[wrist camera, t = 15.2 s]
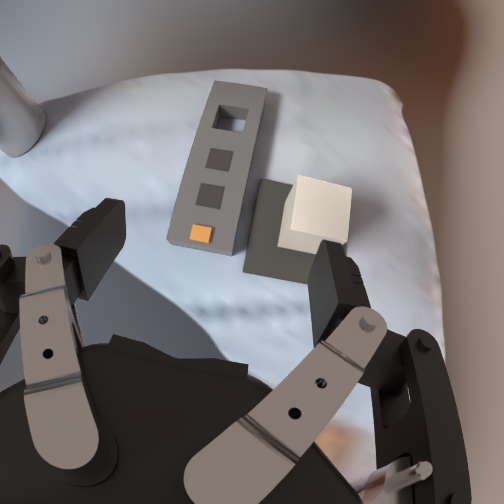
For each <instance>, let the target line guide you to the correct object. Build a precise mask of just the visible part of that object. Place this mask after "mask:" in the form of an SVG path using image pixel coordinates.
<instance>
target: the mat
mask: <svg viewBox="0 0 504 504" xmlns="http://www.w3.org/2000/svg"><path fill="white" fill-rule="evenodd" d="M292 187H293V186H292V185H288V184H283V183H278V182H273V181H269V180H264V179H261V180H260V185H259V190H258V195H257V200H256V205H255V211H254V216H253V221H252V226H251V231H250V236H249V241H248V247H247V252H246V257H245V262H244V267H243V272H245V273H250V274H255V275H260V276H265V277H271V278H276V279H281V280H287V281H292V282H298V283H303V284H308V276H309V272H310V269H311V266H312V264H313V261H314V258H315V256H316V254H312V253H307V252H302V251H297V250H292V249H287V248H282V247H278V241H279V235H280V229H281V223H282V217H283V211H284V205H285V201H286V199H287V197H288V195H289V193H290V191H291V189H292ZM342 247H343V250H344V249H345V243H344V244H343V245H342Z"/></svg>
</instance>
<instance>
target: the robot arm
mask: <svg viewBox="0 0 504 504" xmlns="http://www.w3.org/2000/svg"><path fill="white" fill-rule="evenodd" d="M45 123H46V115H45V113H44V111H43V110H42V109H41V108H40V107H39V105H38V104H37V103H36V102H35V100H34V99H33V98H32V97H31V95H30V94H29V93H28V92H27V90H26V89H25V88H24V87H23V85H22V84H21V83H20V82H19V81H18V80H17V78H16V77H15V75H14V74H13V73H12V72H11V70H10V69H9V68H8V66H7V65H6V64H5V62H4V61H3V60H2V58H1V57H0V149H1V150H2V151H3V152H4V153H6V154H7V155H8V156H10V157H18V156H20V155H22V154H24V153H25V152H27V151H28V150H29V149H30V148H31V147H32V146H33V145H34V144H35V143H36V142H37V140H38V139H39V137H40V136H41V134H42V132H43V130H44V127H45ZM125 239H126V220H125V203H124V201H122V200H117V199H111V198H105V199H104V200H103V201H102V202H101V203H100V204H99V205H98V206H97V207H96V208H92V209H90V210H88V211H86V212H84V213H83V214H82V215H81V216H80V217H79V218H78V219H77V220H76V221H75V222H74V223H73V224H72V225H71V227H69V228H68V229H67V230H66V231H65V232H64V233H63V234H62V235H61V236H60V237H59V238H58V239H57V240H56V242H55V243H54V244H43V245H40V246H38V247H35V248H34V249H32V250H31V251H30V252H29V253H28V255H27V257H13V256H12V253H11V250H10V248H9V247H8V246H7V245H0V364H1V362H2V360H3V358H4V356H5V354H6V353H7V350H8V349H9V347H10V345H11V343H12V341H13V339H14V338H15V336H16V334H17V332H18V330H19V329H20V332H21V347H22V358H23V367H24V375H25V379H23V380H22V381H20V382H18V383H16V384H14V385H12V386H11V387H9V388H7V389H5V390H3V391H2V392H0V504H471V487H470V478H469V470H468V463H467V456H466V451H465V445H464V439H463V434H462V429H461V424H460V420H459V416H458V411H457V407H456V403H455V399H454V395H453V391H452V387H451V384H450V380H449V376H448V373H447V370H446V366H445V363H444V360H443V357H442V353H441V350H440V347H439V345H438V343H437V341H436V340H435V338H434V337H433V336H432V335H431V334H429V333H428V332H426V331H424V330H421V329H414V330H412V331H411V332H410V333H409V334H408V335H407V337H405V336H402V335H400V334H397V333H395V332H392V331H390V330H388V329H387V324H386V322H385V320H384V318H383V317H382V316H381V315H380V314H379V313H378V312H376V311H375V310H373V309H371V306H370V303H369V299H368V296H367V293H366V290H365V287H364V285H363V280H362V278H361V274H360V271H359V268H358V266H357V265H356V263H355V262H354V261H353V260H352V259H351V258H350V257H346V256H345V253H344V250H343V247H342V244H341V243H338V242H334V241H329V240H324V239H323V240H322V241H321V243H320V245H319V248H318V250H317V253H316V256H315V258H314V261H313V264H312V266H311V269H310V272H309V276H308V291H309V301H310V311H311V321H312V332H313V344H314V349H313V350H312V351H311V352H310V353H309V354H308V355H307V356H306V357H305V358H304V360H303V361H302V362H301V363H300V364H299V365H298V366H297V367H296V368H295V369H294V370H293V371H292V372H291V373H290V374H289V375H288V376H287V377H286V378H285V379H284V380H283V381H282V382H281V383H280V384H279V385H278V386H277V387H276V388H275V389H274V390H273V389H271V388H270V387H269V386H268V385H266V384H265V383H263V382H262V381H260V380H258V379H257V378H255V377H253V376H250V375H248V364H243V363H237V362H231V361H225V360H220V359H215V358H213V359H212V358H207V359H179V358H174V357H172V356H170V355H168V354H166V353H163V352H161V351H159V350H157V349H155V348H153V347H151V346H150V345H148V344H146V343H144V342H140V341H136V340H132V339H129V338H125V337H121V336H118V335H115V334H113V336H112V338H111V340H110V343H103V344H102V343H101V344H93V345H89V346H85V344H84V341H83V337H82V333H81V329H80V325H79V320H78V316H77V311H76V306H75V301H76V299H77V298H80V299H84V300H87V301H88V300H89V299H90V297H91V295H92V293H93V292H94V290H95V289H96V287H97V286H98V284H99V283H100V281H101V279H102V278H103V276H104V275H105V273H106V272H107V270H108V269H109V267H110V266H111V264H112V263H113V261H114V260H115V258H116V257H117V255H118V254H119V252H120V251H121V249H122V248H123V246H124V243H125ZM357 383H360V384H363V385H365V386H368V387H370V389H371V398H372V408H373V418H374V431H375V445H376V465H377V470H376V471H374V472H373V473H372V474H371V475H370V477H369V478H368V480H367V483H366V489H365V491H364V495H363V497H362V499H361V498H360V496H359V495H358V493H357V492H356V491H355V490H354V488H353V487H352V486H351V485H350V484H349V483H348V481H347V480H346V479H345V478H344V477H343V476H342V474H341V473H340V472H339V471H338V470H337V468H336V467H335V466H334V465H333V464H332V462H331V461H330V460H329V459H328V457H327V456H326V455H325V454H324V453H323V451H322V450H321V449H320V448H319V446H318V445H317V444H316V443H315V441H314V440H315V439H316V438H317V437H318V435H319V434H320V433H321V432H322V430H323V429H324V428H325V427H326V425H327V424H328V423H329V421H330V420H331V419H332V417H333V416H334V415H335V413H336V412H337V411H338V409H339V408H340V407H341V405H342V404H343V402H344V401H345V400H346V398H347V397H348V395H349V394H350V393H351V391H352V390H353V388H354V387H355V385H356V384H357ZM408 389H409V394H408ZM409 395H410V400H409Z"/></svg>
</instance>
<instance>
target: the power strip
mask: <svg viewBox="0 0 504 504" xmlns="http://www.w3.org/2000/svg"><path fill="white" fill-rule="evenodd" d="M266 92H267V88H261V87H256V86H250V85H243V84H237V83H230V82H222V81H214V84H213V86H212V89H211V92H210V95H209V97H208V100H207V103H206V106H205V109H204V112H203V115H202V117H201V120H200V123H199V126H198V129H197V132H196V135H195V139H194V142H193V145H192V148H191V151H190V154H189V158H188V161H187V164H186V168H185V171H184V174H183V178H182V181H181V185H180V188H179V192H178V195H177V199H176V203H175V207H174V210H173V214H172V218H171V222H170V226H169V230H168V234H167V238H166V239H167V240H168V242H169V243H170V244H172V245H177V246H182V247H187V248H193V249H198V250H203V251H208V252H213V253H218V254H223V255H228V256H232V253H233V248H234V243H235V238H236V233H237V228H238V223H239V218H240V213H241V209H242V204H243V199H244V194H245V190H246V185H247V180H248V175H249V171H250V166H251V162H252V157H253V152H254V148H255V143H256V139H257V134H258V130H259V125H260V121H261V116H262V112H263V107H264V103H265V98H266ZM219 116H223V117H229V118H236V119H242V120H246V123H245V127H244V131H243V133H240V132H234V131H228V130H221V129H216V126H217V123H218V119H219Z"/></svg>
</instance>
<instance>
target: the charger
mask: <svg viewBox="0 0 504 504" xmlns="http://www.w3.org/2000/svg"><path fill="white" fill-rule="evenodd" d="M351 196H352V188H350V187H346V186H342V185H338V184H334V183H330V182H326V181H322V180H318V179H314V178H310V177H305V176H301V175H298V177H297V179H296V181H295V183H294V185H293V187H292V189H291V191H290V193H289V195H288V197H287V199H286V201H285V205H284V211H283V217H282V223H281V229H280V235H279V241H278V247H282V248H287V249H292V250H297V251H302V252H307V253H312V254H316V253H317V250H318V248H319V245H320V243H321V241H322V240H323V239H324V240H329V241H334V242H338V243H341V244H342V245H343V244H344V243H346V242H347V239H348V230H349V220H350V209H351Z"/></svg>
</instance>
